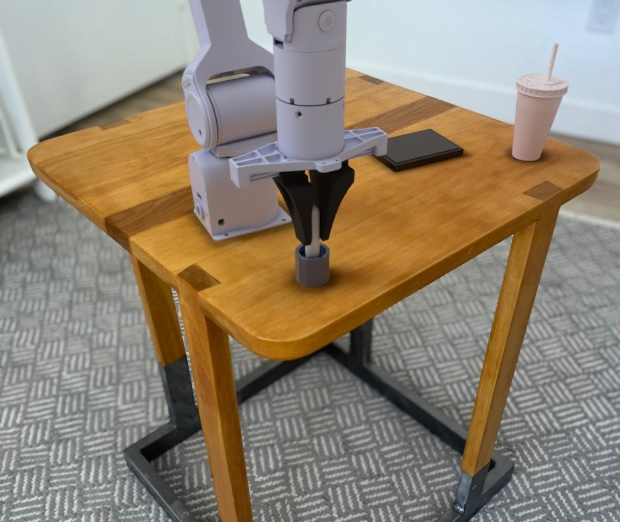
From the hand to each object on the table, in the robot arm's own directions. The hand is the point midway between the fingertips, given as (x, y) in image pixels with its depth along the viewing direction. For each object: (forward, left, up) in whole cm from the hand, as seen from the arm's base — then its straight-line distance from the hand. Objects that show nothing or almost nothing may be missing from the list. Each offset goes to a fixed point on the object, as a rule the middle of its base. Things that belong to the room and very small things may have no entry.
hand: (312, 238), depth 60 cm
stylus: (0, 0, -4) cm, 4 cm away
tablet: (+26, +21, -5) cm, 34 cm away
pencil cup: (0, 0, -5) cm, 5 cm away
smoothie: (+39, +13, -5) cm, 41 cm away
